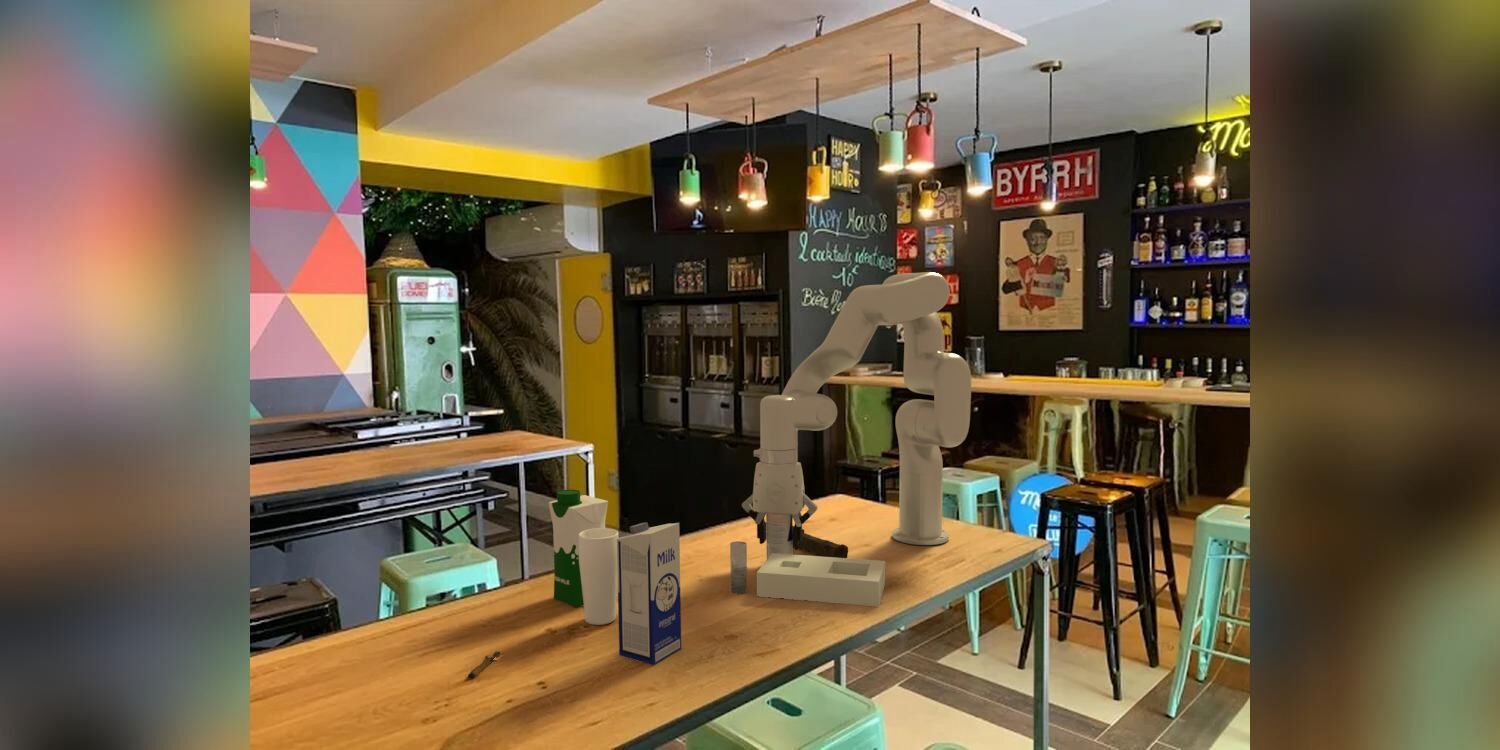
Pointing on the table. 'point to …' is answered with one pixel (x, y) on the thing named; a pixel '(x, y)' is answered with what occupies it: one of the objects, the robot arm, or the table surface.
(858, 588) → the socket block
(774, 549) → the energy drink
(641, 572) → the milk carton
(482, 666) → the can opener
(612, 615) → the drinking glass
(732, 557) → the grey metal peg
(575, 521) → the soya milk
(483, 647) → the table surface
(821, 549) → the hand tool
